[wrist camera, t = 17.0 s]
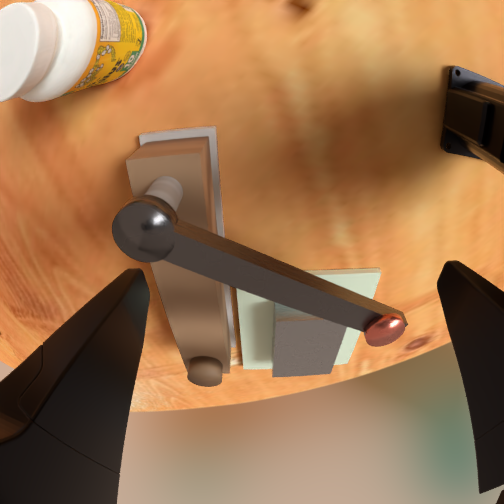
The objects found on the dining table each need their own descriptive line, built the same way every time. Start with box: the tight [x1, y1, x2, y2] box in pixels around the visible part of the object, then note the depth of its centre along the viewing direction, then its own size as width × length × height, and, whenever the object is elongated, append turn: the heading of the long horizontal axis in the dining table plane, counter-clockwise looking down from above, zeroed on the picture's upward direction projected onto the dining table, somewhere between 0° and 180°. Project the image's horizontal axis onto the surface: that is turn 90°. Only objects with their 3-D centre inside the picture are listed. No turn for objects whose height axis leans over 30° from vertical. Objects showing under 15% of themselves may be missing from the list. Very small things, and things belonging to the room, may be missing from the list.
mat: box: [236, 268, 381, 369], centre depth 27 cm, size 12×14×1 cm
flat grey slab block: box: [271, 302, 347, 377], centre depth 26 cm, size 6×9×2 cm, turn 1°
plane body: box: [126, 126, 236, 387], centre depth 20 cm, size 21×5×7 cm, turn 1°
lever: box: [112, 194, 408, 347], centre depth 14 cm, size 16×3×2 cm, turn 63°
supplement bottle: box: [0, 0, 147, 102], centre depth 9 cm, size 5×5×10 cm
